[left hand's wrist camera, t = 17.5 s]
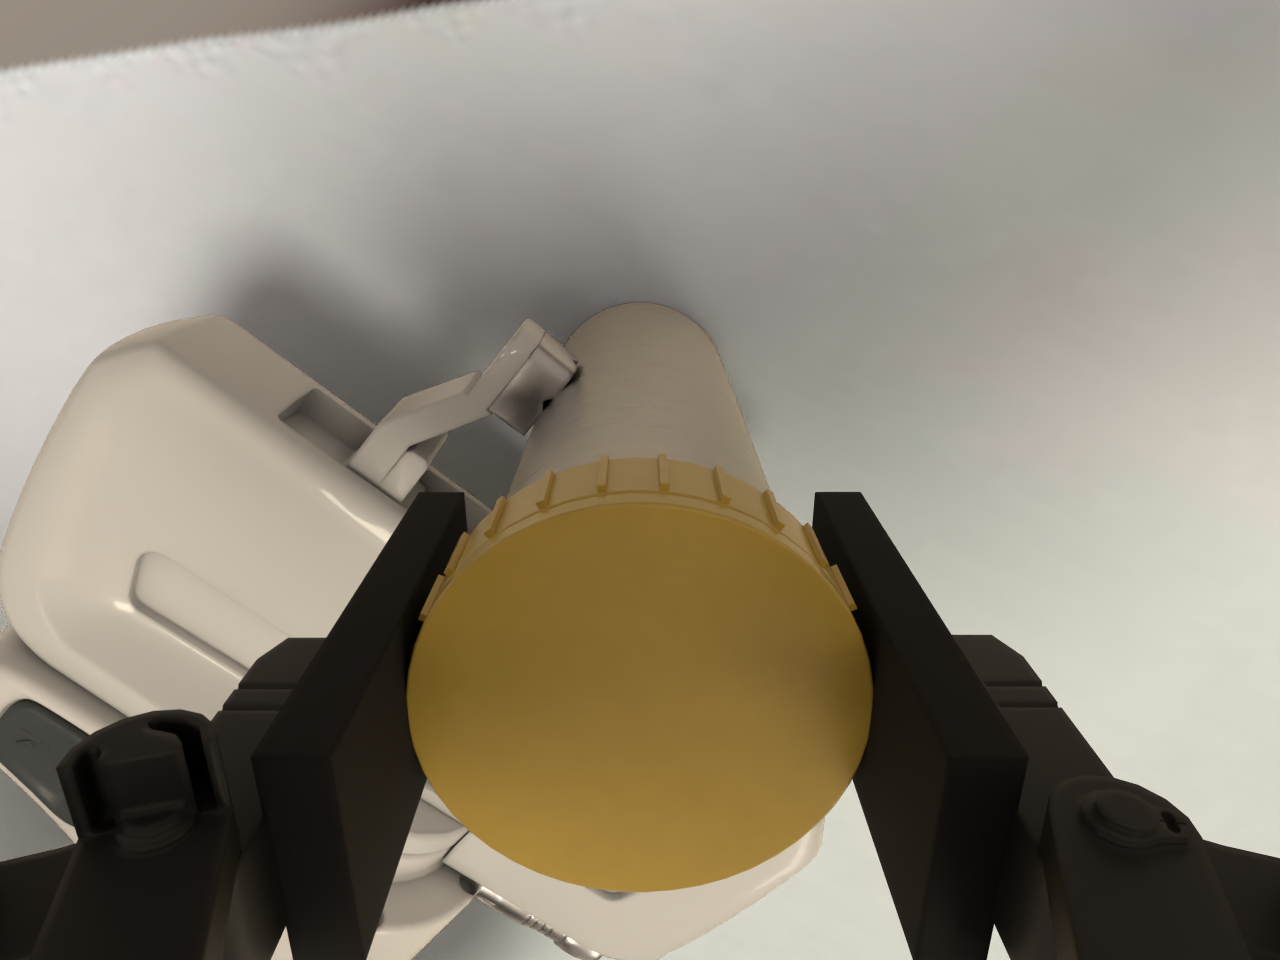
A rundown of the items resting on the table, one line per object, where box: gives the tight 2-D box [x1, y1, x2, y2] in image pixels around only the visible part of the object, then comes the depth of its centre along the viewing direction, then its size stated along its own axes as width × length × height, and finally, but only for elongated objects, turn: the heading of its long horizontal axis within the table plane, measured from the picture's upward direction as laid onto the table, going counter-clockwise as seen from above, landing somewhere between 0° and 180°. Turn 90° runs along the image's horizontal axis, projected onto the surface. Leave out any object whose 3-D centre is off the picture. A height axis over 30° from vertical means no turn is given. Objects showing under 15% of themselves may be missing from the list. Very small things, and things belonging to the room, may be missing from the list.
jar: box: [506, 302, 771, 500], centre depth 18 cm, size 5×5×15 cm
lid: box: [406, 453, 874, 892], centre depth 11 cm, size 6×6×2 cm
